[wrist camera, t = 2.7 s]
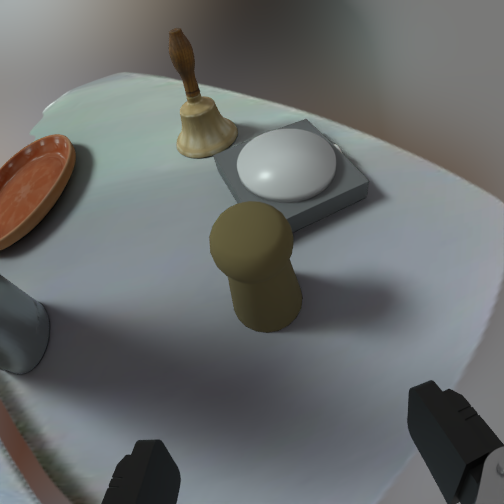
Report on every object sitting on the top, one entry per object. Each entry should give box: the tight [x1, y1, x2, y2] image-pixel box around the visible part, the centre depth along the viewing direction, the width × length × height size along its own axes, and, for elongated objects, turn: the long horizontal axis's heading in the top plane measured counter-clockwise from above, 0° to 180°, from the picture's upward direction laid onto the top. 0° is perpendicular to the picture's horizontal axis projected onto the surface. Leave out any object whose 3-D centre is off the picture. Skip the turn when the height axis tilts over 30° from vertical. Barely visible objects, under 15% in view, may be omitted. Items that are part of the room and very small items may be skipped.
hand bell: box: [169, 28, 238, 158], centre depth 34 cm, size 8×8×16 cm
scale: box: [213, 119, 369, 233], centre depth 33 cm, size 12×12×4 cm
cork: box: [209, 201, 302, 333], centre depth 24 cm, size 6×6×11 cm
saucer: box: [0, 134, 76, 250], centre depth 41 cm, size 23×23×4 cm
